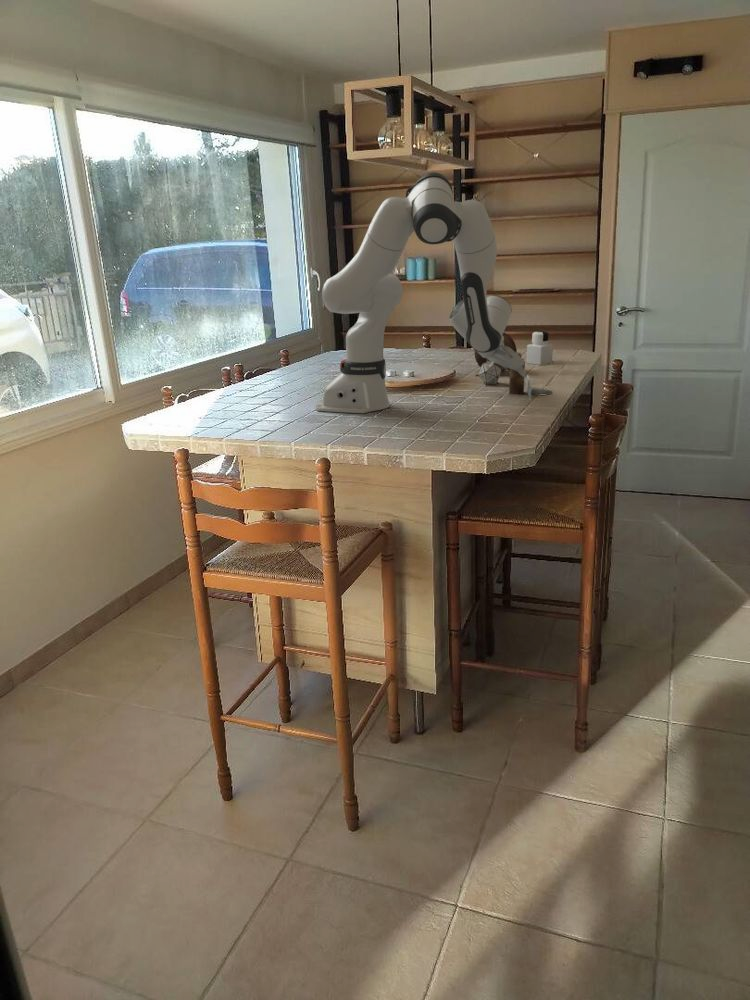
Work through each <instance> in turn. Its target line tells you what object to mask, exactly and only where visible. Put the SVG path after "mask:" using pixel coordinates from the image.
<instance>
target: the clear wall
mask: <svg viewBox="0 0 750 1000" xmlns="http://www.w3.org/2000/svg"><path fill="white" fill-rule="evenodd" d="M525 385H526V386H525V387H526V388H525V389H526V391H527V392H528V393H527V395H528V396H529V397H528V399H529V398H531V399H532V394H531V390H532V383H531V379H530V376H529V375H528V374H526V384H525Z"/></svg>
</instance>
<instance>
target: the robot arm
mask: <svg viewBox="0 0 750 1000" xmlns="http://www.w3.org/2000/svg"><path fill="white" fill-rule="evenodd" d="M413 233H415V235H416V237H417V238H418V239H419V240H420V242H422V243H424V244H427V245H439V244H440V245H441V244H443V243H446V242H453V245H454V246H453V247H454V250H455V254H456V257H457V263H458V267H459V275H460V276H459V277H460V285H461V291H462V292H461V293H462V294H461V295H462V300H460V301H458V302H457V303H456V304H455V306H454V307H452V310H451V313H450V315H449V323H450V324H451V326H452V327H453V328H454V329H455V330H456V331H457V333H458V334H459V335H460V336H461V337H462V338H463V339H464V340H465V341H467V344H468V345H469V346H470V348H472V349H473V350H474V352H475V351H477V352H478V353H479V354H480V355H481V356H482V357H483V358H487V359H488V360H489V361H491V362H493V363H496V364H499V365H501V366H502V367H504V368H505V369H506V371H507V372H509V373H510V369H513V370H516V371H517V372H518V374H519V375H520V376H522V377H524V378H525V376H527V375H528V373H527V371H526V369H525V370H524V369H523V367H522V366H523V365H524V361H525V360H524V361H523V359H524V358H522V357H520V356H519V355H517V354H516V353H515V352H514V351H513V350H512V349H511V348H509V347H507V346H504V343H503V341H504V337H503V336H502V335H503V332H504V333H505V330H506V327H507V326H508V322H509V319H510V317H511V314H512V306H511V304H510V303H509V301H508V300H507V299H506V298H505V297H503V296H500V295H498V294H497V295H496V294H494V295H493V294H491V295H487V293H488V292H487V291H488V285H489V281H490V278H491V276H492V274H493V273H492V272H493V270H494V267H495V264H496V261H497V250H498V248H497V240H496V235H495V232H494V228H493V224H492V221H491V218H490V216H489V214H488V212H487V210H486V207H485V205H483V203H481V202H480V201H478V200H476V199H467V200H464V201H457V200H455V199H454V191H453V186H452V184H451V183H450V180H448V178H447V177H446V176H445V175H443V174H442V173H441V172H440V173H439V172H436V171H435V172H428V173H426V174H424V175H422V176H420V177H419V179H417V181H415V183H414V184H413V185H412V186H410V187H409V188H407V190H406V192H405V197H404V198H403V197H398V196H391V197H387V198H386V199H385V200H384V201H382V203H381V204H380V206H379V207H378V208H377V211H376V212H375V213H374V216H373V217H372V219H371V221H370V223H369V226H368V228H367V230H366V232H365V235H364V237H363V240H362V241H361V244H360V247H359V249H358V250H357V252H356V254H355V255H354V256H353V258H352V259H351V260H350V261H349V262H348V263H346V265H345V266H344V267H343V268H342V269H341V270H340V271H338V272H337V273H336V274H335V275H332V276H331V277H329V278H328V279H326V281H325V282H324V283H323V286H322V290H321V298H322V302H323V304H324V306H325V308H326V309H327V310H328V311H329V312H330V313H333V314H334V313H335V314H341V315H343V314H344V315H349V314H358V313H359V314H358V318H357V321H356V322H355V323H354V325H352V327H350V328H349V329H348V331H347V333H346V335H345V348H346V349H345V351H346V355H345V356H346V359H345V358H344V359H341V361H340V364H339V369H340V370H339V371H340V373H339V374H338V375H337V376H336V377H334V378H333V379H332V380H331V381H330V382H328V383H327V384H326V386H324V390H323V392H322V393H323V394H322V399H321V400H319V401H318V402H316V404H315V410H316V411H318V412H332V413H334V412H335V413H352V414H366V413H370V412H375V411H381V410H385V409H388V408H389V407H390V406H391V404H390V400H389V396H388V391H387V386H386V376H387V370H386V369H387V367H386V365H387V364H386V360H385V358H384V341H385V340H384V338H385V336H384V335H385V331H386V330H385V329H386V326H387V322H388V320H389V318H390V316H391V313H392V312H393V310H394V309H395V308H396V307H397V305H398V304H400V302H401V300H402V297H403V293H404V292H403V286H402V282H401V280H400V278H399V276H397V275H395V274H394V273H392V272H393V271H394V270H395V269H396V268H397V265H398V263H399V260H400V259H401V257H402V255H403V252H404V250H405V247H406V245H407V243H408V240H409V238H410V237H411V235H412V234H413Z"/></svg>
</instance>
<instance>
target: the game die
mask: <svg viewBox="0 0 750 1000" xmlns="http://www.w3.org/2000/svg"><path fill="white" fill-rule="evenodd" d="M481 363H482V365H481V367H479V371H478V373H477V374H475V377H478V378H479V379H480V380H482V381H483V384H485V387H487V386H488V384H494V383H496V384H497V385H499V382H498V381H499V379H500V376H501V375H502V373H503V372H502V371H504V369H500V368H499V367H498V366H497V365H496V363H493V362H487V363H483V362H482V361H481ZM504 372H505V371H504Z"/></svg>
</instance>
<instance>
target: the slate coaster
mask: <svg viewBox="0 0 750 1000" xmlns="http://www.w3.org/2000/svg"><path fill="white" fill-rule="evenodd" d="M551 392H552V390H550V389H542V388H541V389H537V388H536V389H531V393H533V394H549V393H551ZM533 394H532V395H533ZM551 394H552V393H551ZM549 395H550V394H549Z"/></svg>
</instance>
